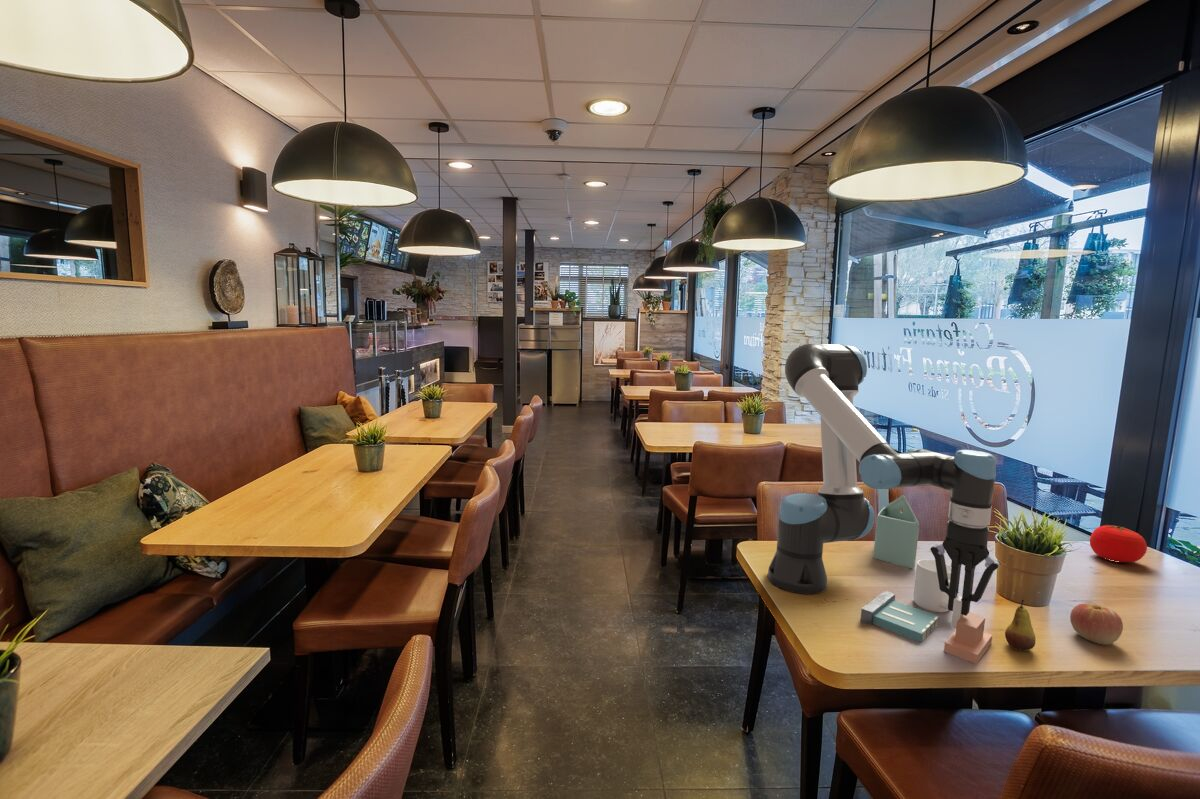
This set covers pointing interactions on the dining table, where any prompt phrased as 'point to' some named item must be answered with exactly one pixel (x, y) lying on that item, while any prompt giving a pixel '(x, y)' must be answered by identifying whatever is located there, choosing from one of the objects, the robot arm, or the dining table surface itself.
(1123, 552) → the tomato
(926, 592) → the mug
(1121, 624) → the apple
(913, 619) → the striped teal tile
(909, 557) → the pale teal hollow box
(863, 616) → the grey end rail
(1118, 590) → the dining table surface
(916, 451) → the robot arm
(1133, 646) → the dining table surface
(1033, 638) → the fruit
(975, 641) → the stub
